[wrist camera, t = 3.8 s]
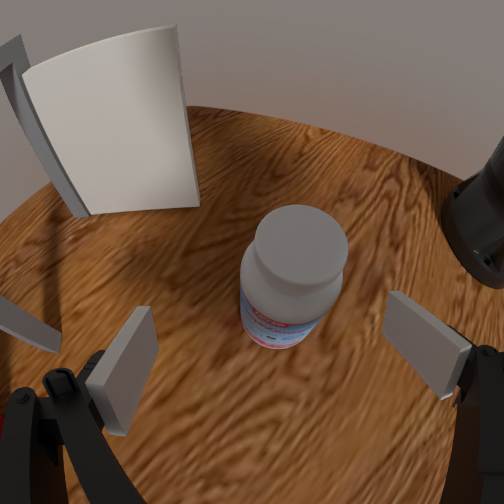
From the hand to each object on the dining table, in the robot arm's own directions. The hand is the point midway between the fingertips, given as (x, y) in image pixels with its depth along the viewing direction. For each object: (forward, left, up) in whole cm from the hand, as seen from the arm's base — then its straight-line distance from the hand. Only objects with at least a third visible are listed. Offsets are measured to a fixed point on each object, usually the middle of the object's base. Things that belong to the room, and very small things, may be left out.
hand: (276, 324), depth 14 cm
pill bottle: (-1, -3, -8) cm, 9 cm away
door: (+12, -16, -8) cm, 21 cm away
